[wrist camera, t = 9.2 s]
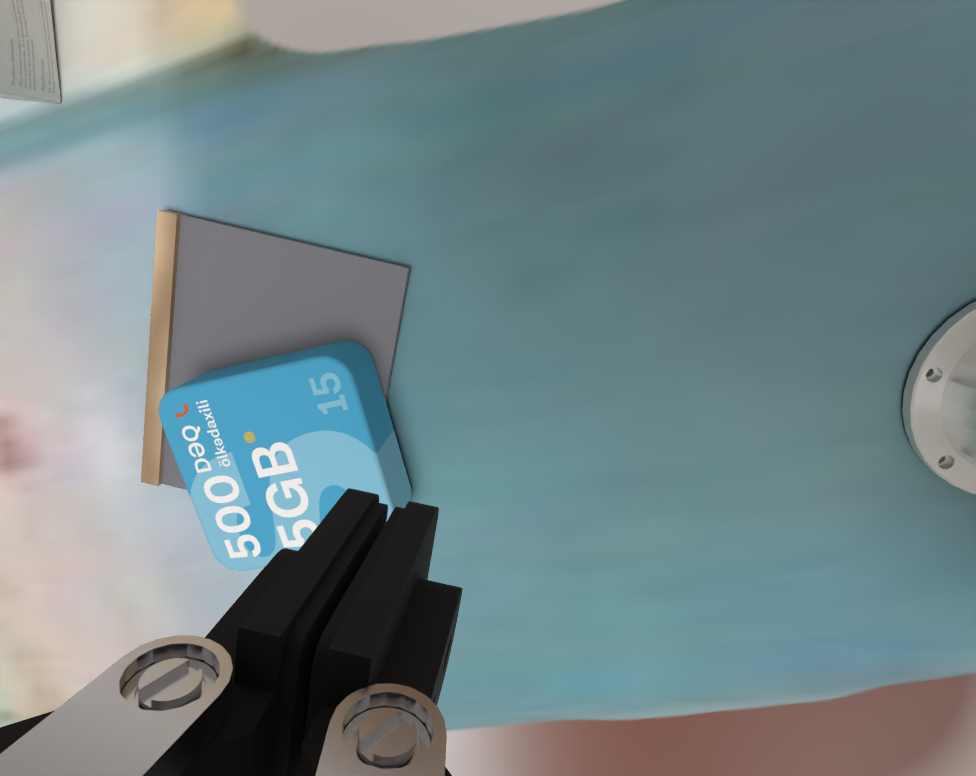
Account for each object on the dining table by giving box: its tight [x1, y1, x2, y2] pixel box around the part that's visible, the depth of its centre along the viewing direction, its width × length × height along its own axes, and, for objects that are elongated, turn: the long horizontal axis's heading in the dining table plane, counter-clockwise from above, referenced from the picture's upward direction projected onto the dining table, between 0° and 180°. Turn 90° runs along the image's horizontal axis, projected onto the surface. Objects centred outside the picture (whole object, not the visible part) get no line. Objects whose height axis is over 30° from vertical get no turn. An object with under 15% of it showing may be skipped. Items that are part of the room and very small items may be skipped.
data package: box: [159, 341, 412, 571], centre depth 38 cm, size 12×4×12 cm
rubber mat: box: [162, 215, 411, 490], centre depth 39 cm, size 14×18×1 cm
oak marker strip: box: [141, 210, 185, 486], centre depth 39 cm, size 1×18×1 cm, turn 168°
